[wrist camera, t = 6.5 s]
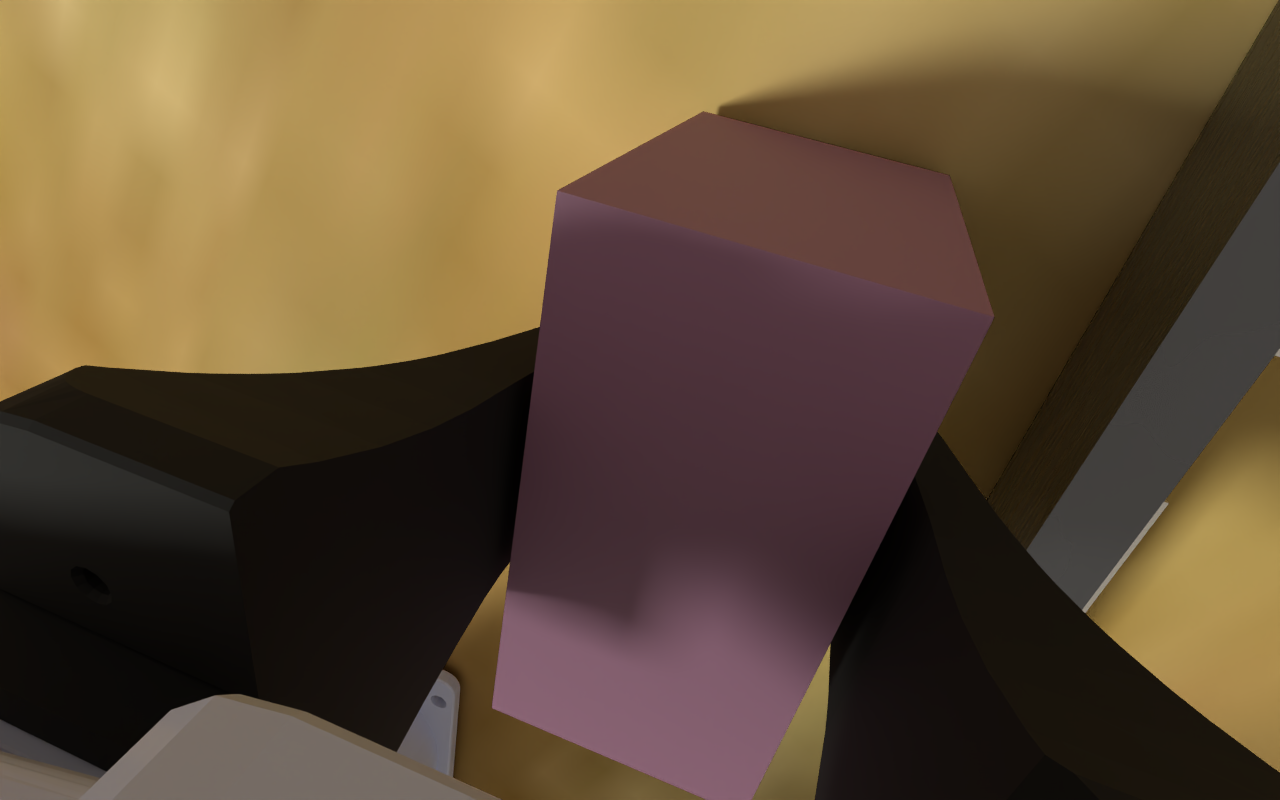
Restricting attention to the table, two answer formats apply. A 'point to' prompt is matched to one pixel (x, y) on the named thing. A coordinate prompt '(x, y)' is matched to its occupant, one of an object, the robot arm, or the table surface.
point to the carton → (722, 435)
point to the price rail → (1160, 348)
